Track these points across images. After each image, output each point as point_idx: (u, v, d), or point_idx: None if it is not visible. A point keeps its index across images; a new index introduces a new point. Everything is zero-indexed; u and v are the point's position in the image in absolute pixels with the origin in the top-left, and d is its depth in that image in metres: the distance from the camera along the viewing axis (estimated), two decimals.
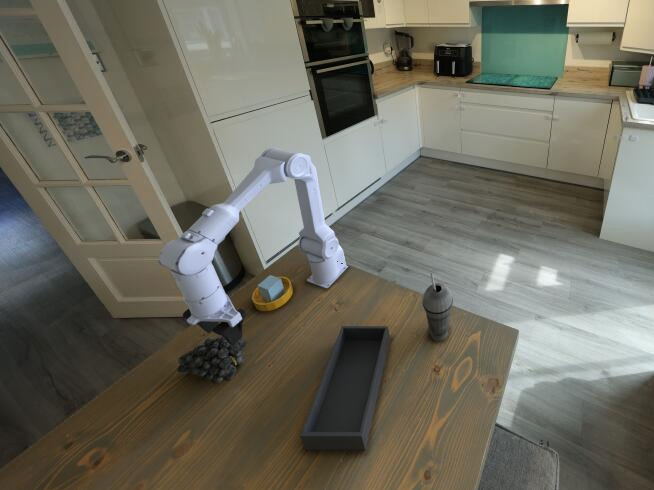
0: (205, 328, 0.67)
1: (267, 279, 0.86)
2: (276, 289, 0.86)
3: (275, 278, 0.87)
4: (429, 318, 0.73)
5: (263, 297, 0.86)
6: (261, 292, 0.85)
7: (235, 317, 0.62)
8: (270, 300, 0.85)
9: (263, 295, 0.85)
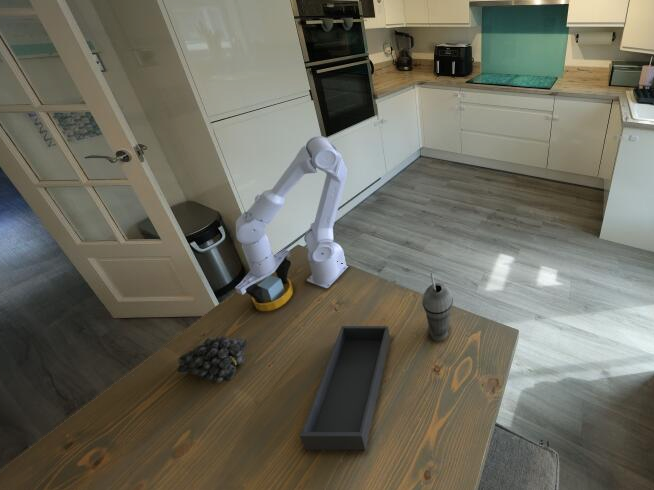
0: (278, 277, 0.90)
1: (267, 279, 0.86)
2: (276, 289, 0.86)
3: (275, 278, 0.87)
4: (429, 318, 0.73)
5: (263, 297, 0.86)
6: None
7: (238, 289, 0.77)
8: (270, 300, 0.85)
9: (263, 295, 0.85)
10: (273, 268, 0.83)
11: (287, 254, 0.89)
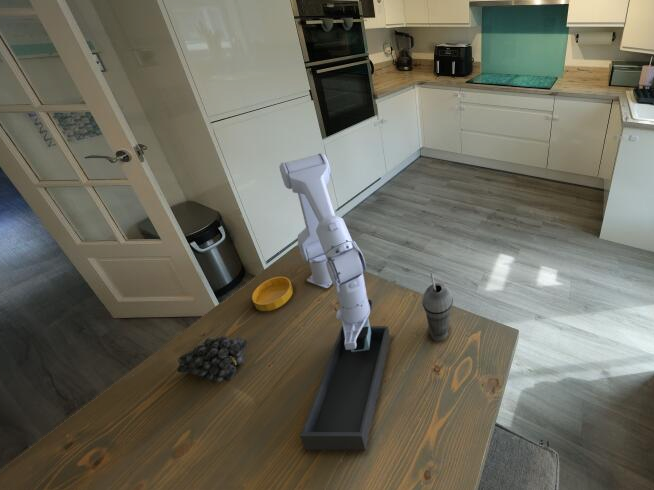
0: None
1: None
2: (368, 331, 0.71)
3: None
4: (429, 318, 0.73)
5: None
6: None
7: (349, 344, 0.62)
8: (366, 346, 0.71)
9: None
10: (368, 306, 0.69)
11: None
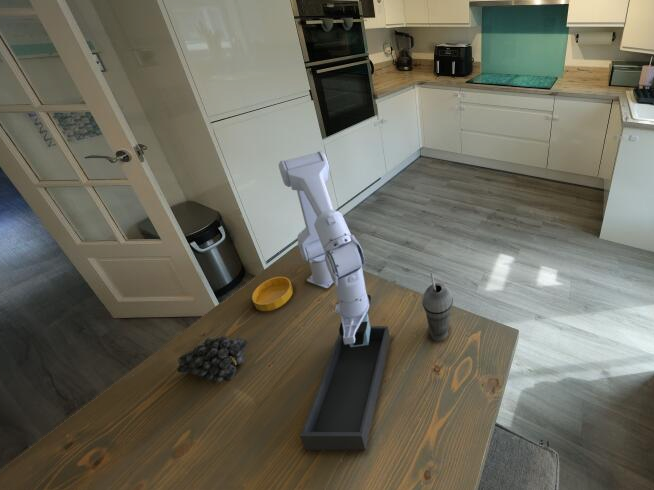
0: None
1: None
2: (367, 326, 0.71)
3: None
4: (429, 318, 0.73)
5: None
6: None
7: (348, 338, 0.61)
8: (365, 341, 0.70)
9: None
10: (368, 301, 0.68)
11: None
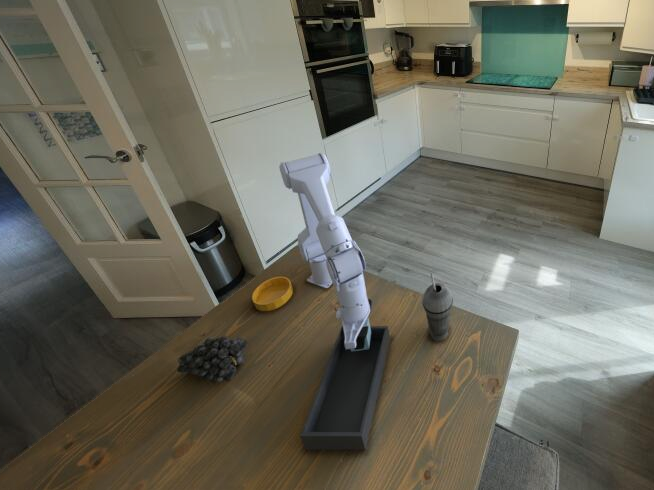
0: None
1: None
2: (368, 331, 0.71)
3: None
4: (429, 318, 0.73)
5: None
6: None
7: (349, 343, 0.62)
8: (365, 346, 0.71)
9: None
10: (368, 306, 0.69)
11: None
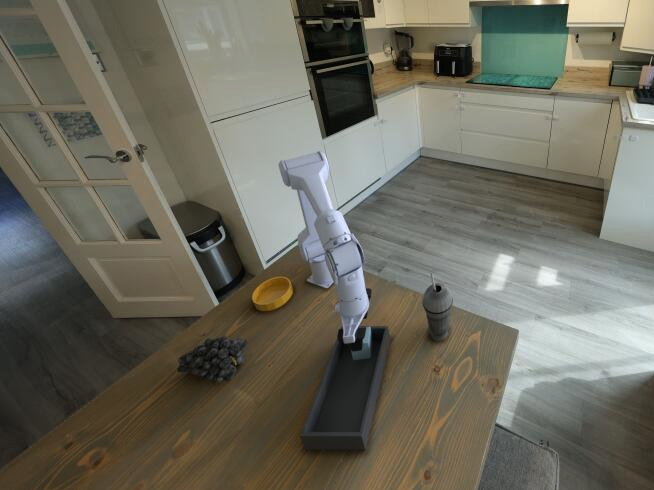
0: None
1: None
2: (370, 340, 0.73)
3: None
4: (429, 318, 0.73)
5: (355, 356, 0.72)
6: (354, 351, 0.71)
7: (348, 337, 0.61)
8: (367, 355, 0.72)
9: (356, 353, 0.71)
10: (367, 300, 0.68)
11: None
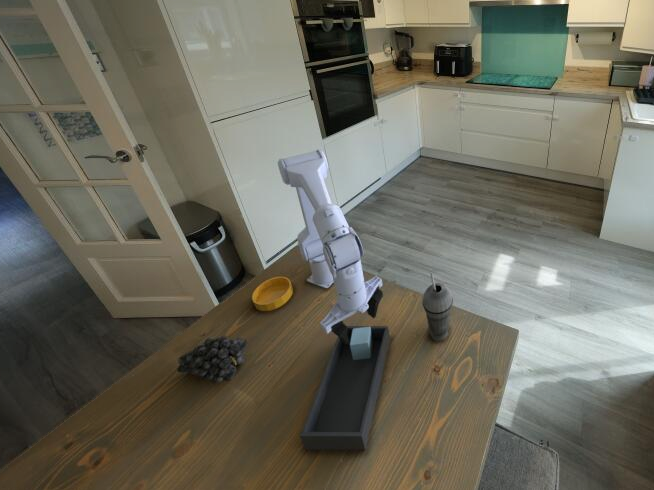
0: None
1: (355, 334, 0.72)
2: (370, 340, 0.73)
3: (363, 328, 0.73)
4: (429, 318, 0.73)
5: (355, 356, 0.72)
6: (354, 351, 0.71)
7: None
8: (367, 355, 0.72)
9: (356, 353, 0.71)
10: None
11: None
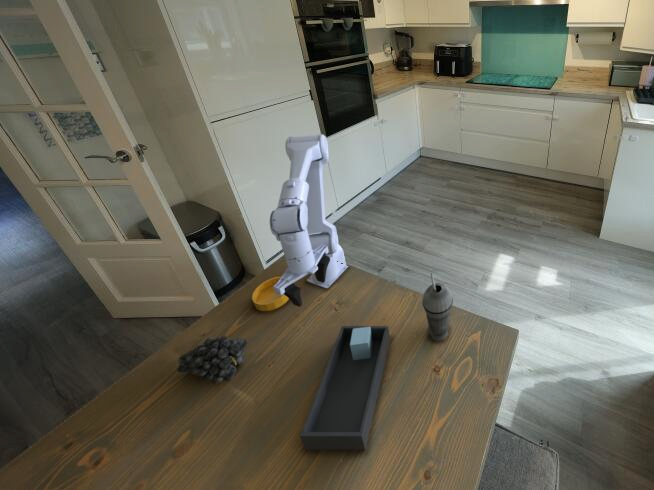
0: None
1: (355, 334, 0.72)
2: (370, 340, 0.73)
3: (363, 328, 0.73)
4: (429, 318, 0.73)
5: (355, 356, 0.72)
6: (354, 351, 0.71)
7: None
8: (367, 355, 0.72)
9: (356, 353, 0.71)
10: None
11: None
